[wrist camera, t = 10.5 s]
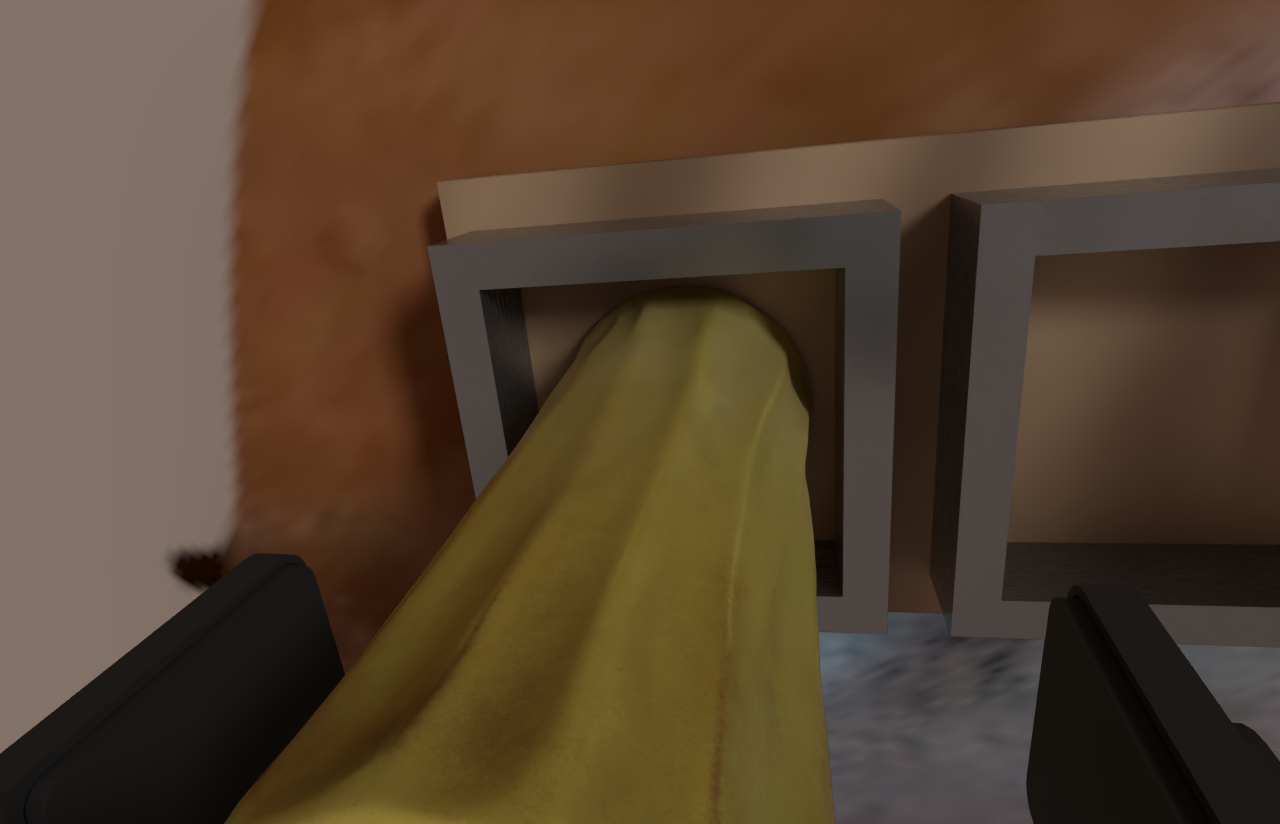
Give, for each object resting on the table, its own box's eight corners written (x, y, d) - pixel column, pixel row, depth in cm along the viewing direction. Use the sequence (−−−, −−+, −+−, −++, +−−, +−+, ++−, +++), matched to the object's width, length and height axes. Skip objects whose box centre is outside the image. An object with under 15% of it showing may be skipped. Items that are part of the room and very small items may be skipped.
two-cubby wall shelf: (1491, 150, 14) (1680, 157, 11) (1360, 582, 17) (1478, 674, 14) (472, 230, 18) (413, 250, 15) (529, 567, 21) (491, 635, 18)
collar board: (1498, 81, 14) (1558, 77, 13) (1345, 595, 18) (1382, 625, 17) (456, 179, 18) (436, 182, 17) (526, 578, 23) (513, 601, 22)
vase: (711, 552, 20) (592, 1394, 6) (526, 421, 19) (-3, 1043, 6) (864, 387, 17) (1164, 1174, 4) (660, 233, 17) (269, 573, 4)
